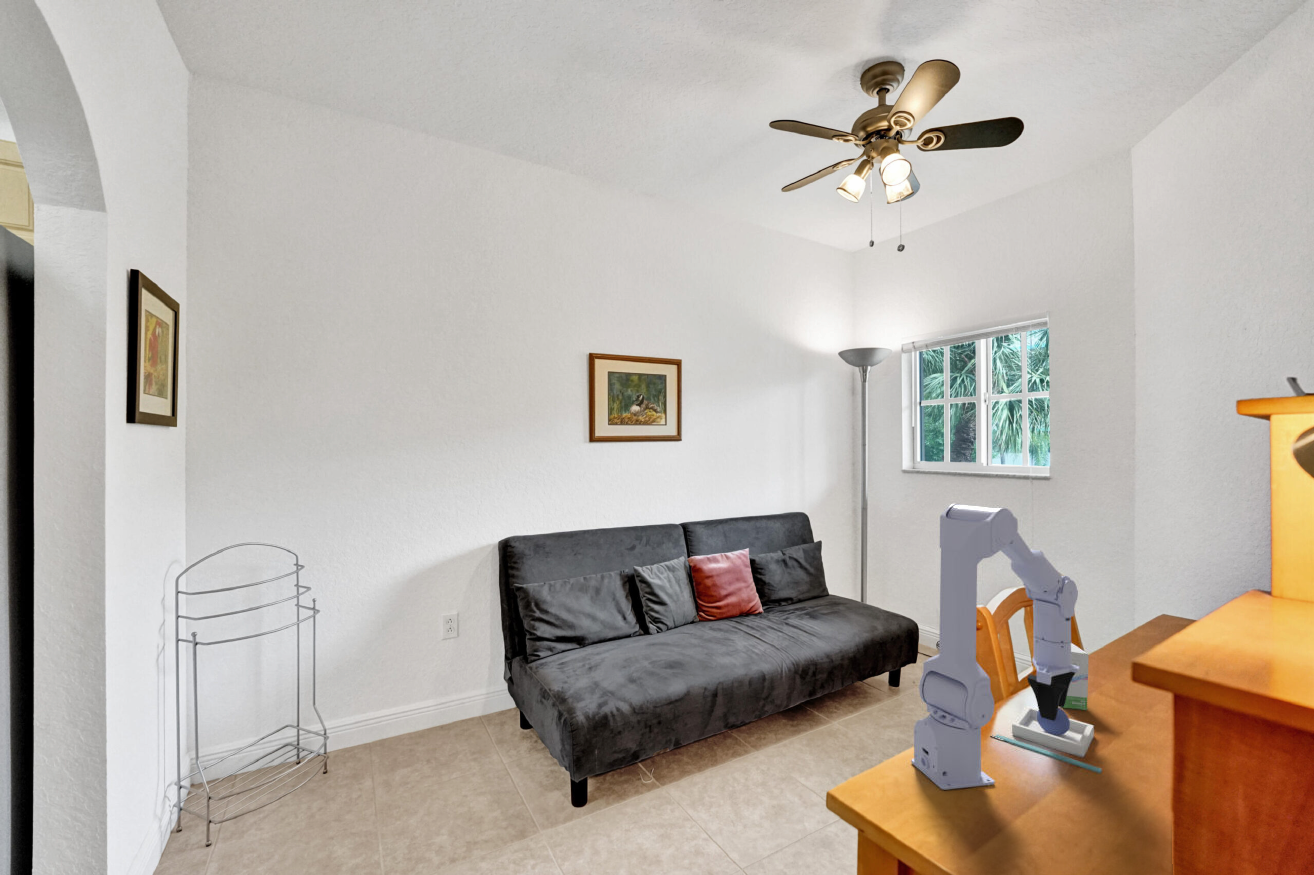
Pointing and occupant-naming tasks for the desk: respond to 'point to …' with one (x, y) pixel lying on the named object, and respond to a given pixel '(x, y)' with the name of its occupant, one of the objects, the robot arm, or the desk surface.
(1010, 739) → the teal line
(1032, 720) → the tray
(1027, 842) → the desk surface
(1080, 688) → the ink box
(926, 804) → the desk surface
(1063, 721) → the ball
